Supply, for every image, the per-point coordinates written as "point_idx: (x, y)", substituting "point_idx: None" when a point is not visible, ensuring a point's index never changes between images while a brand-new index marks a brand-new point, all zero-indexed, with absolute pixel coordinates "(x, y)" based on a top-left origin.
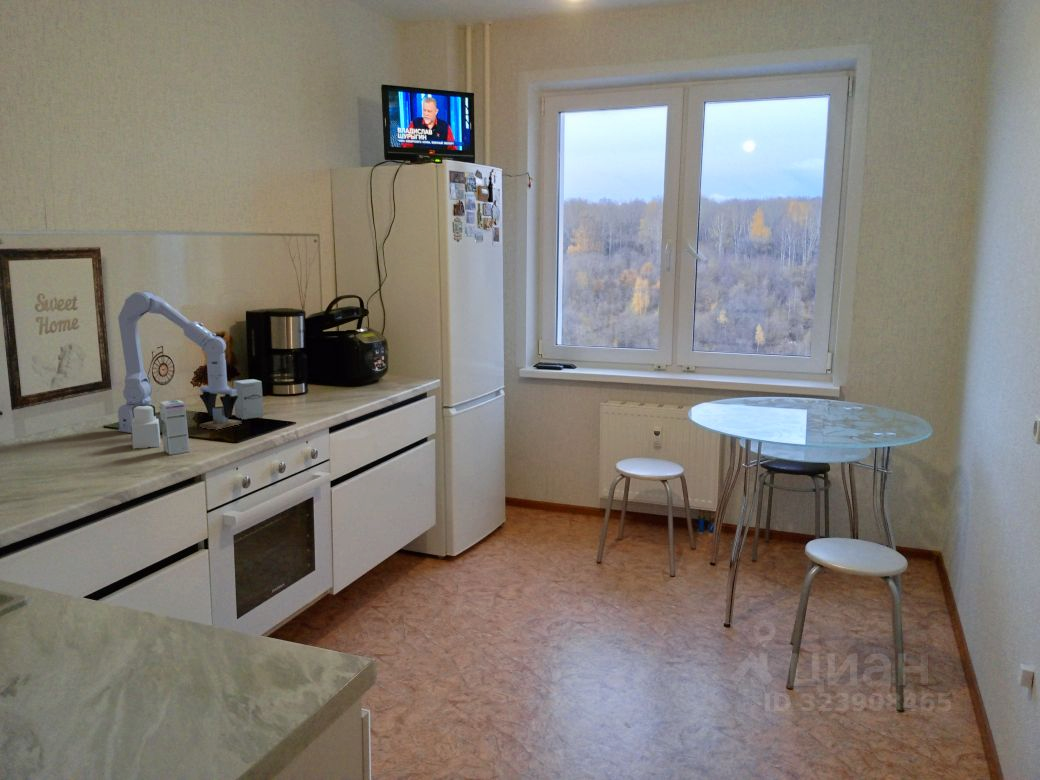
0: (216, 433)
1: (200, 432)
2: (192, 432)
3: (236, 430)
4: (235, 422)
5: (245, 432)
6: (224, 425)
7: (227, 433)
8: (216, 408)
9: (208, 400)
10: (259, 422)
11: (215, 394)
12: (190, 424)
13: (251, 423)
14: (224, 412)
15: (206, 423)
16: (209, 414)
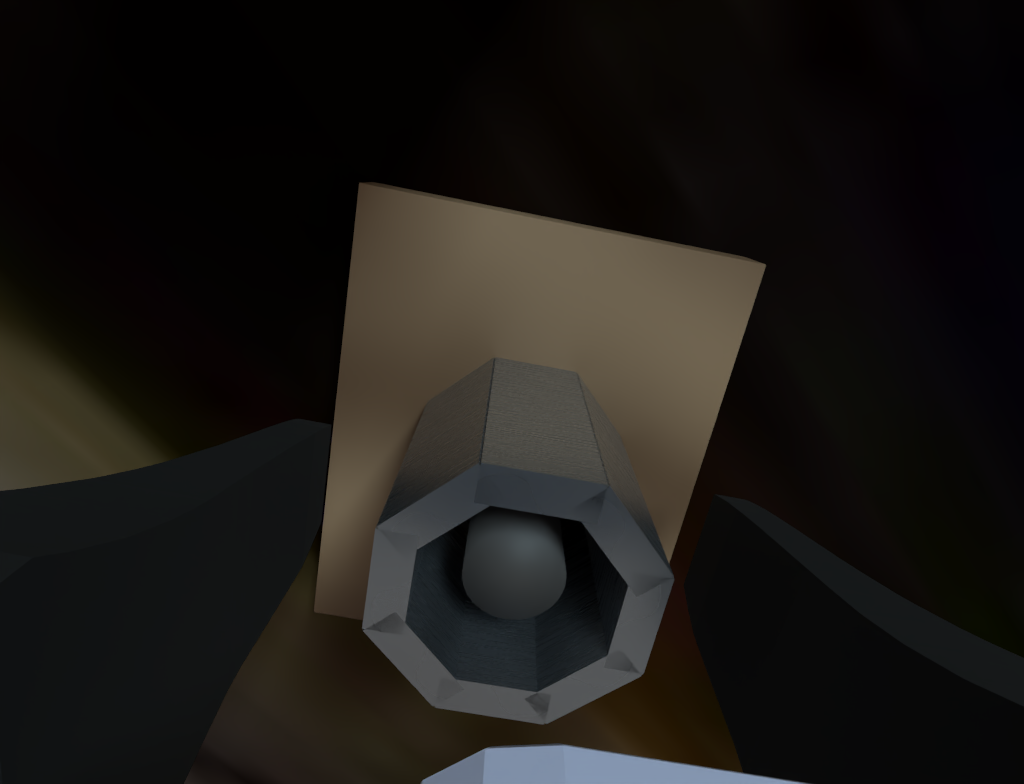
0: (701, 724)
1: (500, 731)
2: (417, 749)
3: (856, 564)
4: (726, 378)
5: (1017, 616)
6: (668, 560)
7: None
8: (516, 691)
9: (167, 753)
10: (969, 14)
11: (62, 637)
12: (48, 453)
13: (862, 133)
14: (718, 672)
15: (363, 549)
16: (309, 534)
